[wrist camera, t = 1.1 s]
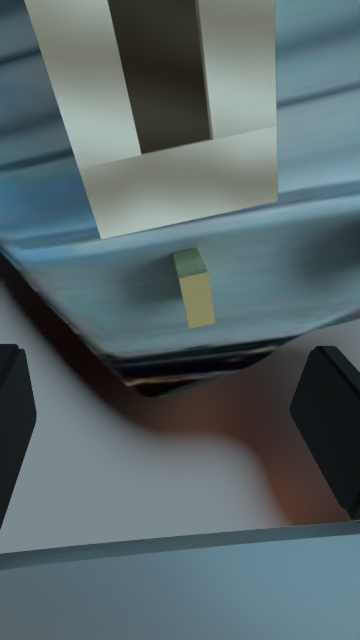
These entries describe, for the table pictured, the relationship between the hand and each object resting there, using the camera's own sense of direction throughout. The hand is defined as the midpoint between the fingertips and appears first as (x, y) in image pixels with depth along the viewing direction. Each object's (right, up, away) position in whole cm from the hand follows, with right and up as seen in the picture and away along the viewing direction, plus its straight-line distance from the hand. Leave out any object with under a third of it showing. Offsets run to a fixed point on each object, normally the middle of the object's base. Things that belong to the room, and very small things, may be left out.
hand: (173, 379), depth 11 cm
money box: (-2, +20, +13) cm, 24 cm away
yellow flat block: (+1, +7, +22) cm, 23 cm away
